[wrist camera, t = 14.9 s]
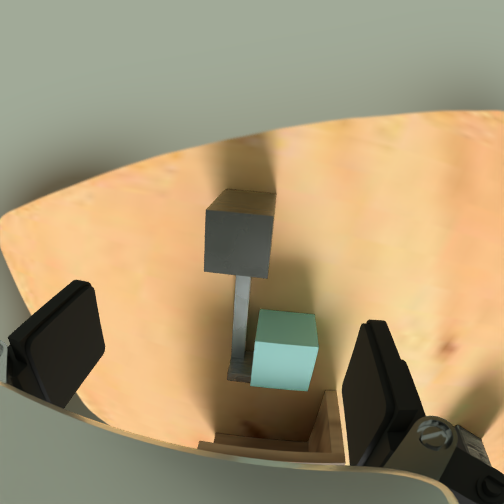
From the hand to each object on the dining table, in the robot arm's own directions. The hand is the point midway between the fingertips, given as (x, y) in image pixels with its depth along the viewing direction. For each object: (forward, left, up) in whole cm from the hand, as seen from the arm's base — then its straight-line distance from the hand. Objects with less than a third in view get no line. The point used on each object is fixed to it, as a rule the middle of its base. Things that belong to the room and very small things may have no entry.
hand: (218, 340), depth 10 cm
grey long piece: (+6, +1, -17) cm, 18 cm away
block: (+11, +3, -17) cm, 21 cm away
